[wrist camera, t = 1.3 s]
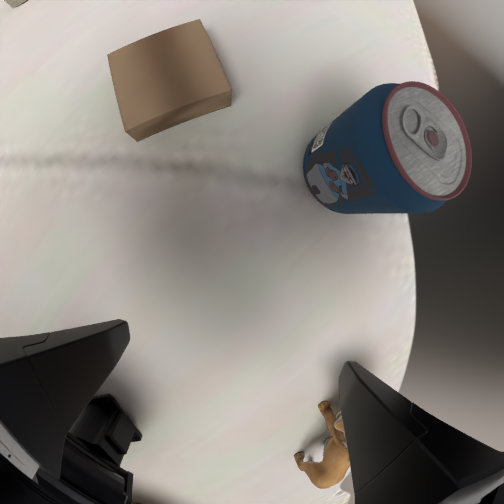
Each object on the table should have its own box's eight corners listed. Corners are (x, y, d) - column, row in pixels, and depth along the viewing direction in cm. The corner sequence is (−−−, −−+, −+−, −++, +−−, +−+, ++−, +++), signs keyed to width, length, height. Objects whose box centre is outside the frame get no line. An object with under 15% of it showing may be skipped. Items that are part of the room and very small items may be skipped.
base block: (137, 141, 19) (125, 131, 17) (118, 70, 18) (107, 54, 15) (230, 105, 20) (231, 90, 17) (202, 38, 19) (199, 19, 16)
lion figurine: (314, 372, 23) (350, 434, 14) (363, 368, 24) (410, 420, 15) (289, 466, 25) (305, 522, 16) (330, 461, 26) (353, 512, 17)
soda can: (384, 160, 22) (485, 131, 10) (355, 228, 22) (459, 241, 10) (319, 117, 21) (394, 45, 9) (284, 187, 21) (349, 154, 9)
